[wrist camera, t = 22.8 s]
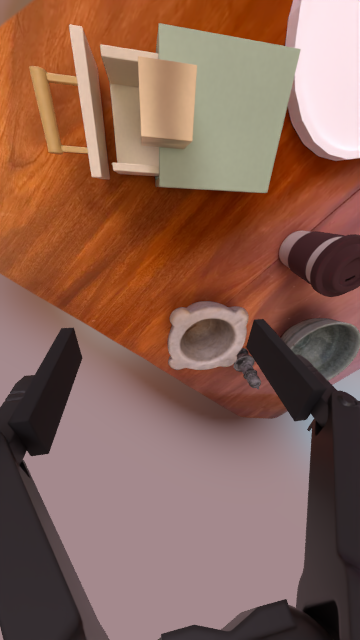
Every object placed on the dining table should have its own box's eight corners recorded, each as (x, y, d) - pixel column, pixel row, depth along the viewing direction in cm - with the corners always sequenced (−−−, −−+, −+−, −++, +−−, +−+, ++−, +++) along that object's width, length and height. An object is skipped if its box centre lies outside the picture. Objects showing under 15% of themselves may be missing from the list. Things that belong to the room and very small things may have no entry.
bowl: (250, 361, 61) (267, 388, 53) (281, 299, 50) (308, 321, 42) (307, 363, 66) (331, 388, 58) (346, 306, 55) (383, 327, 47)
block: (141, 145, 23) (140, 136, 19) (138, 81, 21) (137, 55, 17) (183, 149, 24) (192, 141, 20) (186, 88, 22) (197, 64, 17)
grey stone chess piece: (245, 362, 61) (266, 396, 51) (227, 363, 60) (244, 398, 50) (251, 346, 58) (273, 380, 48) (231, 347, 57) (250, 381, 47)
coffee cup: (284, 218, 40) (349, 232, 28) (325, 227, 42) (401, 244, 30) (264, 267, 45) (311, 298, 33) (301, 273, 47) (358, 304, 35)
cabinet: (155, 186, 34) (159, 186, 26) (153, 72, 27) (158, 22, 19) (239, 191, 36) (266, 193, 28) (257, 87, 29) (301, 48, 21)
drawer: (66, 176, 31) (45, 174, 24) (41, 59, 25) (5, 13, 18) (188, 184, 34) (199, 183, 27) (194, 81, 27) (210, 48, 21)
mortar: (162, 347, 53) (165, 374, 45) (166, 287, 44) (172, 308, 36) (223, 346, 56) (236, 371, 49) (239, 289, 47) (257, 309, 40)
